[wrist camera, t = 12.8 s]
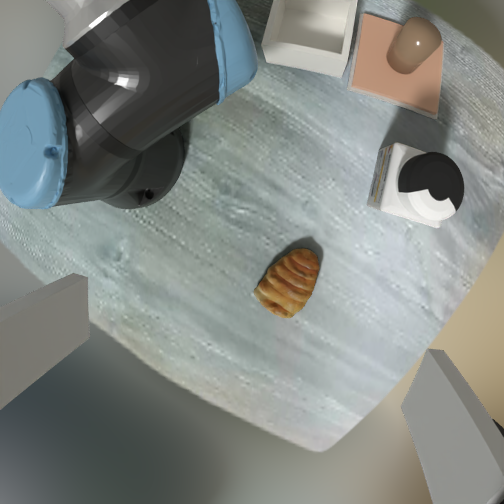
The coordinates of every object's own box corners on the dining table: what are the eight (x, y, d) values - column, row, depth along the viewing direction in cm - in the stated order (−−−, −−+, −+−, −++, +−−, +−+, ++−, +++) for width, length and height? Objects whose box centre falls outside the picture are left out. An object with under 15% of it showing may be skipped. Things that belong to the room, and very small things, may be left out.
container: (378, 148, 37) (411, 133, 24) (430, 166, 36) (478, 161, 24) (365, 205, 39) (394, 215, 26) (417, 221, 38) (462, 237, 26)
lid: (351, 86, 35) (365, 58, 26) (362, 16, 33) (375, -21, 23) (434, 114, 34) (468, 98, 25) (440, 44, 32) (469, 16, 22)
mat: (346, 90, 36) (347, 89, 36) (359, 14, 33) (360, 13, 33) (436, 120, 35) (437, 119, 34) (443, 44, 32) (444, 43, 31)
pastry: (289, 235, 41) (288, 240, 38) (331, 263, 41) (335, 270, 38) (251, 292, 44) (247, 302, 40) (292, 318, 44) (291, 329, 40)
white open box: (266, 62, 37) (261, 44, 31) (281, 6, 34) (278, -16, 29) (341, 78, 36) (347, 62, 30) (351, 20, 33) (357, -1, 28)
